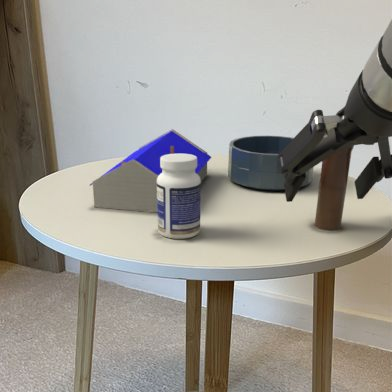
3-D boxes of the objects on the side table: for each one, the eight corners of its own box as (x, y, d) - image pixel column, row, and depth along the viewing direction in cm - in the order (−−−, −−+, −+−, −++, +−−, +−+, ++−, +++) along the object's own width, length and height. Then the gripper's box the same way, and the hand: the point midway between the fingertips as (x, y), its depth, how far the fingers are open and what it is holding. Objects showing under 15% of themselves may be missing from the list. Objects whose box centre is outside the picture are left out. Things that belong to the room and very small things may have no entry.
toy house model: (180, 214, 87) (179, 163, 83) (89, 206, 89) (85, 156, 86) (211, 175, 105) (212, 131, 101) (135, 169, 108) (133, 126, 104)
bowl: (296, 168, 110) (299, 134, 107) (323, 191, 98) (327, 153, 95) (220, 171, 108) (221, 136, 105) (238, 194, 96) (240, 156, 93)
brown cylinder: (335, 220, 86) (349, 123, 79) (346, 230, 82) (361, 129, 76) (309, 221, 85) (320, 124, 78) (318, 231, 82) (331, 130, 75)
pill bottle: (207, 229, 82) (208, 154, 77) (189, 243, 77) (189, 164, 72) (169, 222, 84) (168, 149, 79) (149, 235, 79) (147, 159, 74)
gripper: (297, 119, 60) (249, 219, 82) (499, 116, 64) (402, 212, 85) (286, 55, 62) (242, 169, 83) (483, 55, 65) (393, 165, 87)
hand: (323, 191), depth 84 cm, fingers open, 10 cm apart
